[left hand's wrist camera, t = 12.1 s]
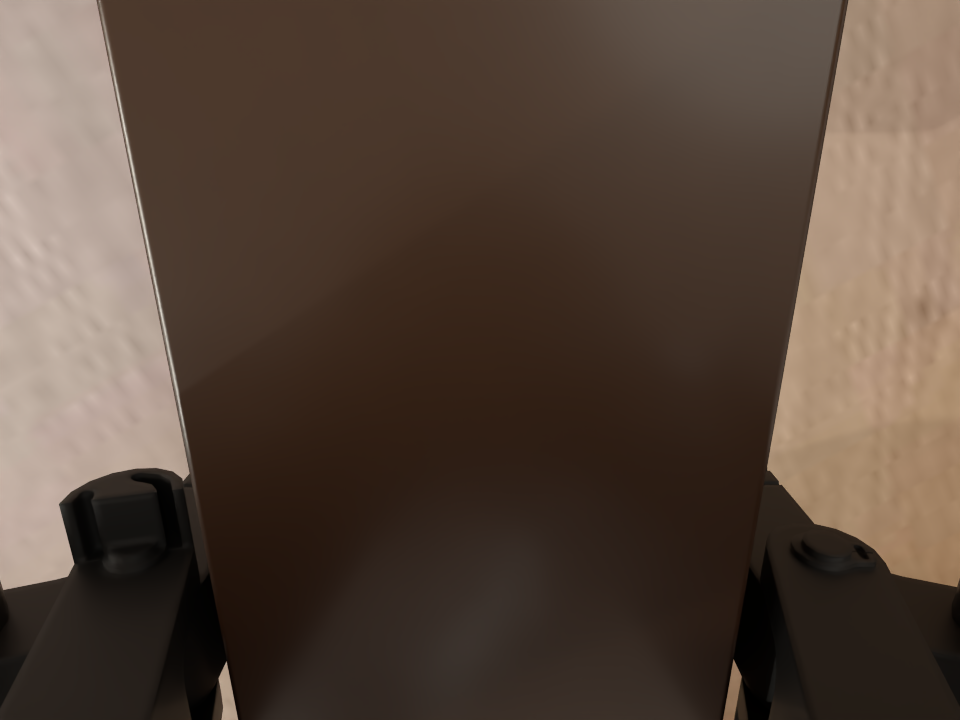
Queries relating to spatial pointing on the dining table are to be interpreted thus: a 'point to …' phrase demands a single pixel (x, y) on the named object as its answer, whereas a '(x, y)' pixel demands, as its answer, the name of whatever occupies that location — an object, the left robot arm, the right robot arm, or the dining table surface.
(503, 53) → the beam
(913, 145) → the dining table surface
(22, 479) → the dining table surface
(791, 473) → the dining table surface
